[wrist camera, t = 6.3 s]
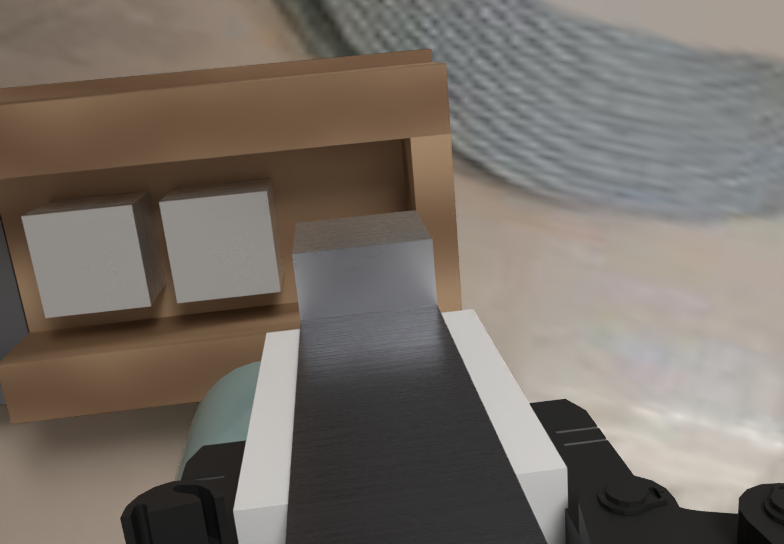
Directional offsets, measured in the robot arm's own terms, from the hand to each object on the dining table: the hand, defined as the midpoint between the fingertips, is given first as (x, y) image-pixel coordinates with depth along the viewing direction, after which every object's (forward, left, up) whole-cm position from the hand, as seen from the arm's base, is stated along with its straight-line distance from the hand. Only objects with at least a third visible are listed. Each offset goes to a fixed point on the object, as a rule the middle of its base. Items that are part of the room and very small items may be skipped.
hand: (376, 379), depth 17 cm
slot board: (0, -5, -18) cm, 18 cm away
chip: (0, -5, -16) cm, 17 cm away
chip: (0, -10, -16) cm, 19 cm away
